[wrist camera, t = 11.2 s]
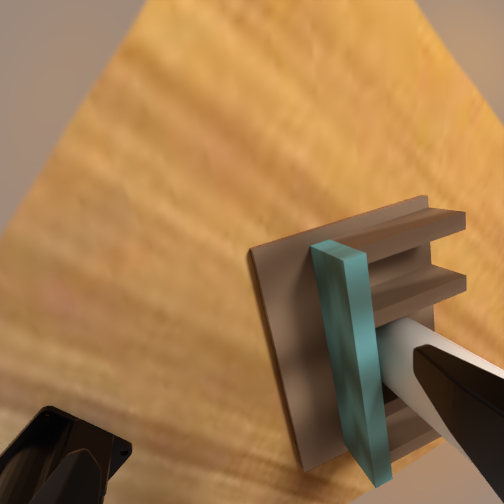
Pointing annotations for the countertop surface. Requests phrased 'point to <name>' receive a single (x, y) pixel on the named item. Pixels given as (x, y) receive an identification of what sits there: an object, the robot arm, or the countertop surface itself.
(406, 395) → the white cylinder
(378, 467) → the comb rack
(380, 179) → the countertop surface
